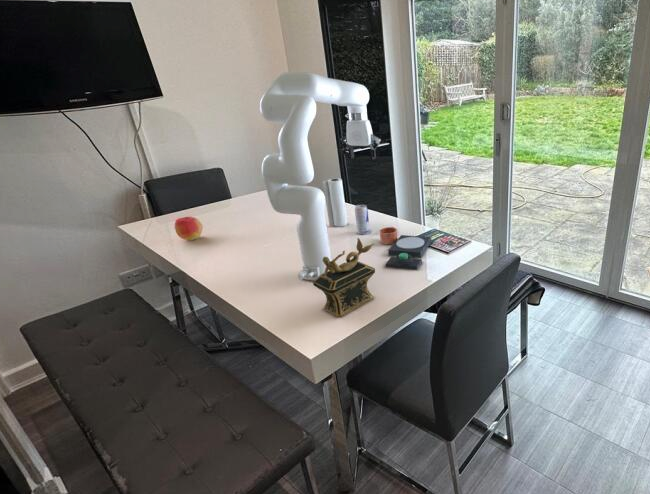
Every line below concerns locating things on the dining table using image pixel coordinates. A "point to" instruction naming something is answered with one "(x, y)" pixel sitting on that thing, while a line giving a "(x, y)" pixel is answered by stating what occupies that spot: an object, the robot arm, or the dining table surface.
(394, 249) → the scale
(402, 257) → the tare button
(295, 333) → the dining table surface
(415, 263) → the scale panel
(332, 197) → the paper towel roll
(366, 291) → the decorative box
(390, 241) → the bowl
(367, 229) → the energy drink
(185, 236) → the apple
